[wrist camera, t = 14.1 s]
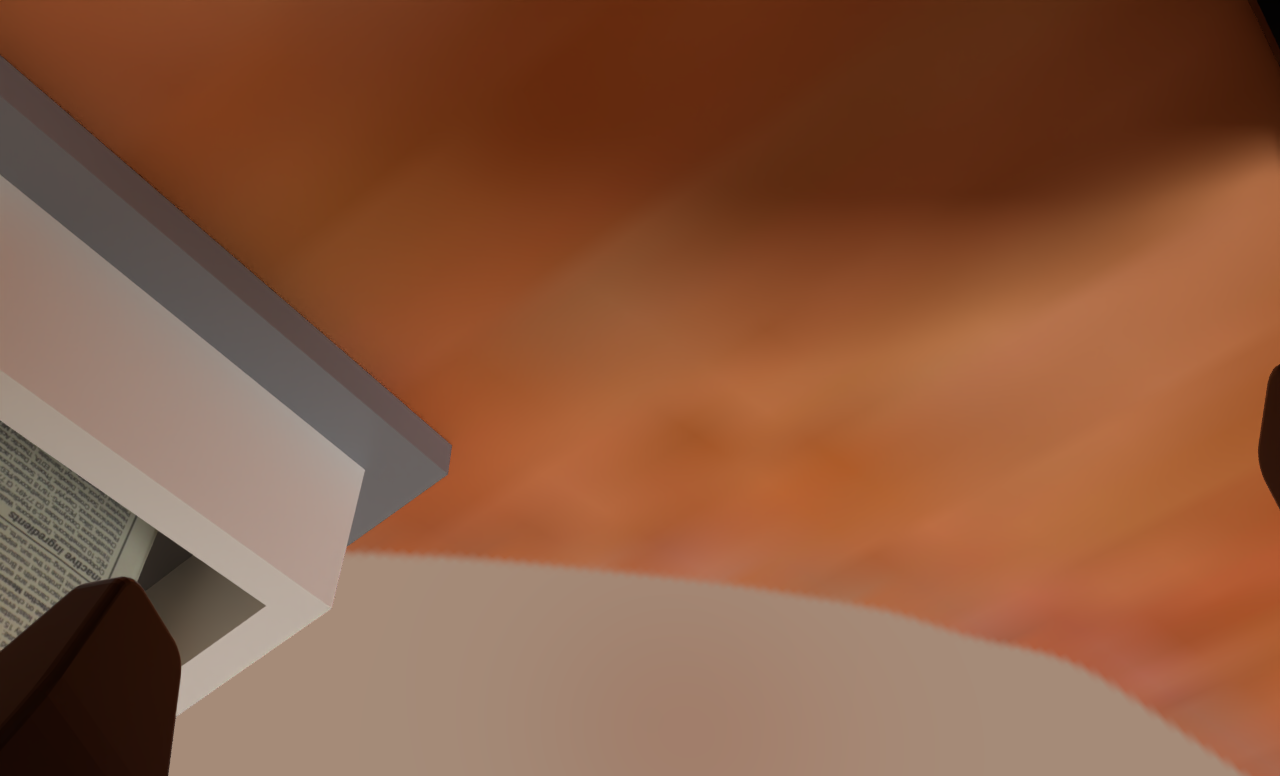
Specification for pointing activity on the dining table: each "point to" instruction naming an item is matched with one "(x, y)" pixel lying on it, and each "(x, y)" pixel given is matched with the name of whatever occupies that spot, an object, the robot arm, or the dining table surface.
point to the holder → (187, 396)
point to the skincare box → (56, 534)
